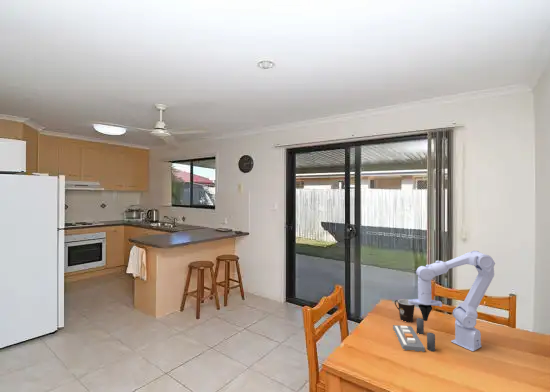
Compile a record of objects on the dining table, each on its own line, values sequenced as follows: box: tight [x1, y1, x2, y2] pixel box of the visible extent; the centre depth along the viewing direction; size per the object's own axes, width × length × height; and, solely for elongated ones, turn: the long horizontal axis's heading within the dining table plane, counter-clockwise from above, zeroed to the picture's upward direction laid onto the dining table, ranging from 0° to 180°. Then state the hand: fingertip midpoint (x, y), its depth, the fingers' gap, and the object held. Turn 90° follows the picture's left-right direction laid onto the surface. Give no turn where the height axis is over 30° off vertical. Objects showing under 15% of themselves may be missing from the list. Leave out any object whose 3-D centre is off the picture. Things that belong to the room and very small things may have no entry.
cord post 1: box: [416, 317, 425, 335], centre depth 140 cm, size 3×3×7 cm
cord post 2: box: [426, 332, 436, 353], centre depth 126 cm, size 3×3×7 cm
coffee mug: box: [394, 298, 416, 323], centre depth 157 cm, size 12×9×10 cm
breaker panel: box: [392, 324, 426, 353], centre depth 135 cm, size 20×9×3 cm, turn 169°
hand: (425, 319), depth 133 cm, fingers closed
